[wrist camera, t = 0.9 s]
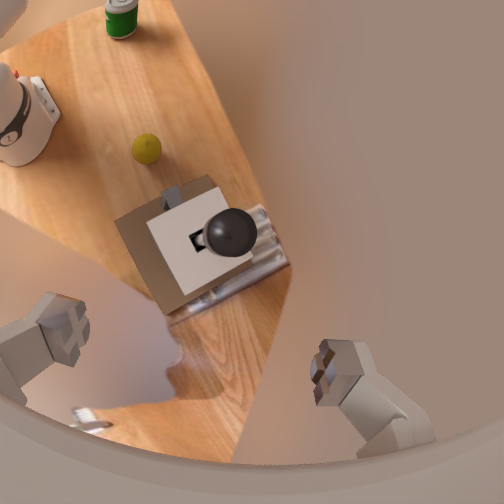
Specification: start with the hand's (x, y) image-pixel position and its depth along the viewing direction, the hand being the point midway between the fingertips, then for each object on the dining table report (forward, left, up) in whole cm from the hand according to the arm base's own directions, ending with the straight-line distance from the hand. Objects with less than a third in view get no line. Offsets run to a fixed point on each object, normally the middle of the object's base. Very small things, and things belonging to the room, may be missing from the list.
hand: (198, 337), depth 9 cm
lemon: (-21, +7, -46) cm, 51 cm away
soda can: (-57, +13, -46) cm, 74 cm away
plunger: (-2, +6, -35) cm, 36 cm away
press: (-2, +6, -46) cm, 47 cm away
